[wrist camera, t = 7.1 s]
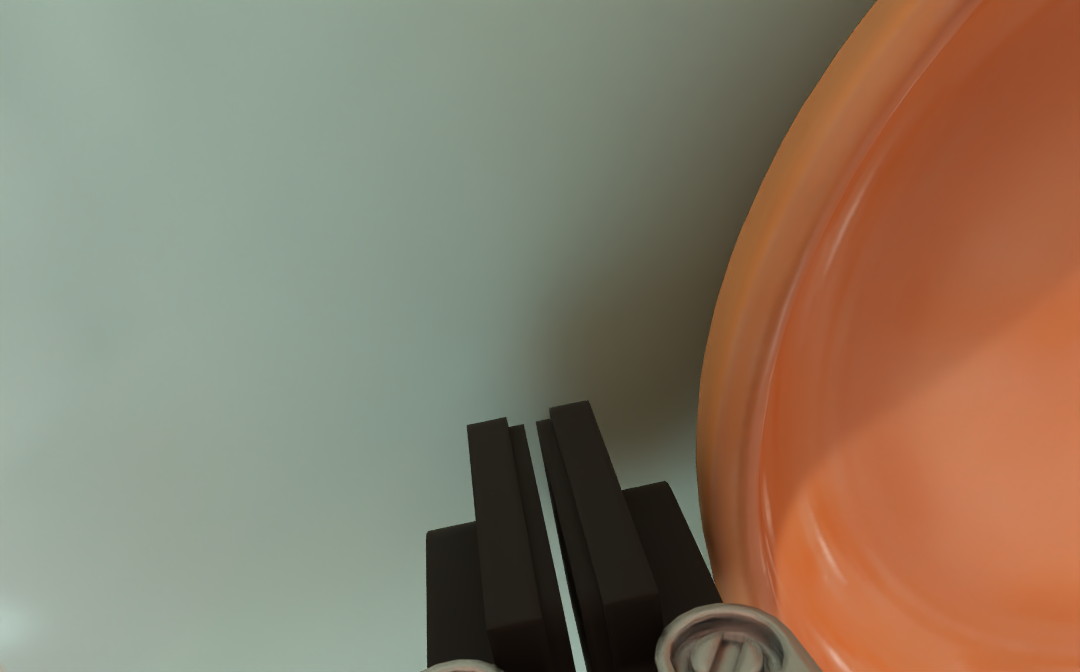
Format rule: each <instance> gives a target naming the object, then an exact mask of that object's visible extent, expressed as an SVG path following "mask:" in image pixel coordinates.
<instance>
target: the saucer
mask: <svg viewBox="0 0 1080 672" xmlns="http://www.w3.org/2000/svg"><path fill="white" fill-rule="evenodd" d="M696 469H697V482H698V494H699V506H700V513H701V520H702V528H703V533H704V537H705V542H706V546H707V551H708V555H709V560H710V564H711V569H712V573H713V578H714V582H715V585H716V588H717V590H718V592H719V594H720V597H721V599H722V601H723V603H739V604H743V605H747V606H752V607H756V608H759V609H761V610H763V611H765V612H767V613H769V614H771V615H773V616H775V617H777V618H778V619H779V620H780V621H781V622H782V623H783V624H784V625H786V626H787V627H788V628H789V629H790V630H791V631H792V633H793V634H794V635H795V636H796V638H797V639H798V640H799V642H800V643H801V644H802V645H803V647H804V648H805V649H806V651H807V652H808V653H809V654H810V656H811V657H812V658H813V659H814V661H815V662H816V663H817V665H818V666H819V667H820V668H821V670H822V671H823V672H1080V0H877V1H876V2H875V4H874V5H873V6H872V7H871V9H870V10H869V11H868V12H867V14H866V15H865V16H864V17H863V19H862V20H861V21H860V23H859V24H858V25H857V27H856V28H855V30H854V31H853V32H852V34H851V35H850V36H849V38H848V39H847V40H846V42H845V43H844V44H843V46H842V47H841V49H840V50H839V51H838V53H837V54H836V56H835V57H834V59H833V60H832V62H831V63H830V65H829V66H828V68H827V69H826V71H825V72H824V74H823V75H822V77H821V79H820V80H819V82H818V83H817V85H816V86H815V88H814V89H813V91H812V92H811V94H810V95H809V97H808V98H807V100H806V101H805V103H804V104H803V106H802V108H801V109H800V111H799V113H798V115H797V116H796V118H795V120H794V122H793V123H792V125H791V127H790V129H789V130H788V132H787V134H786V136H785V138H784V139H783V141H782V143H781V145H780V147H779V149H778V151H777V153H776V155H775V157H774V159H773V161H772V163H771V165H770V167H769V169H768V171H767V173H766V175H765V177H764V179H763V181H762V184H761V186H760V188H759V190H758V193H757V195H756V197H755V199H754V202H753V204H752V206H751V208H750V211H749V213H748V215H747V217H746V220H745V222H744V224H743V226H742V229H741V231H740V234H739V236H738V239H737V241H736V244H735V247H734V249H733V252H732V255H731V257H730V260H729V263H728V267H727V270H726V273H725V276H724V279H723V283H722V286H721V289H720V292H719V295H718V298H717V302H716V305H715V309H714V314H713V318H712V323H711V327H710V331H709V336H708V340H707V344H706V350H705V355H704V361H703V367H702V372H701V379H700V391H699V403H698V415H697V427H696Z"/></svg>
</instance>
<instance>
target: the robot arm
mask: <svg viewBox="0 0 1080 672" xmlns="http://www.w3.org/2000/svg"><path fill="white" fill-rule="evenodd" d="M549 412H550V418H551V419H547V420H542V421H537V422H536V425H537V431H538V436H539V441H540V446H541V451H542V456H543V462H544V467H545V472H546V477H547V482H548V487H549V492H550V498H551V503H552V508H553V513H554V518H555V523H556V528H557V534H558V539H559V544H560V549H561V554H562V559H563V564H564V570H565V575H566V580H567V585H568V590H569V594H570V599H571V604H572V608H573V612H574V617H575V621H576V625H577V630H578V634H579V639H580V643H581V647H582V652H583V656H584V661H585V665H586V669H587V672H823V671H822V670H821V668H820V667H819V666H818V665H817V663H816V662H815V661H814V659H813V658H812V657H811V656H810V654H809V653H808V652H807V651H806V649H805V648H804V647H803V645H802V644H801V643H800V642H799V640H798V639H797V638H796V636H795V635H794V634H793V633H792V631H791V630H790V629H789V628H788V627H787V626H786V625H784V624H783V623H782V622H781V621H780V620H779V619H778V618H777V617H775V616H773V615H771V614H769V613H767V612H765V611H763V610H761V609H759V608H756V607H752V606H747V605H743V604H739V603H723V601H722V599H721V597H720V594H719V592H718V590H717V588H716V586H715V583H714V581H713V579H712V577H711V575H710V573H709V570H708V568H707V566H706V564H705V562H704V559H703V557H702V555H701V553H700V551H699V549H698V546H697V544H696V542H695V540H694V538H693V535H692V533H691V531H690V529H689V527H688V525H687V522H686V520H685V518H684V516H683V514H682V511H681V509H680V507H679V505H678V503H677V500H676V498H675V496H674V494H673V492H672V490H671V488H670V486H669V484H668V483H667V482H666V481H663V482H658V483H653V484H648V485H644V486H639V487H634V488H630V489H625V490H621V487H620V485H619V482H618V479H617V476H616V474H615V471H614V468H613V465H612V463H611V460H610V457H609V455H608V452H607V449H606V446H605V444H604V441H603V438H602V435H601V433H600V430H599V427H598V425H597V422H596V419H595V416H594V414H593V411H592V408H591V405H590V403H589V401H588V400H586V401H581V402H577V403H572V404H567V405H562V406H557V407H553V408H549ZM467 433H468V443H469V454H470V464H471V475H472V485H473V496H474V506H475V516H476V521H474V522H469V523H464V524H460V525H455V526H450V527H445V528H441V529H436V530H431V531H428V532H427V534H426V586H427V669H425V670H423V671H421V672H576V670H575V665H574V660H573V655H572V650H571V645H570V640H569V635H568V630H567V625H566V621H565V616H564V611H563V606H562V601H561V597H560V592H559V587H558V582H557V578H556V573H555V568H554V564H553V559H552V554H551V550H550V545H549V540H548V536H547V531H546V526H545V522H544V517H543V512H542V508H541V503H540V498H539V494H538V489H537V484H536V480H535V475H534V470H533V466H532V461H531V456H530V451H529V447H528V442H527V437H526V433H525V428H524V424H522V425H518V426H513V427H508V423H507V419H506V417H504V418H499V419H495V420H490V421H485V422H480V423H475V424H470V425H467Z"/></svg>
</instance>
